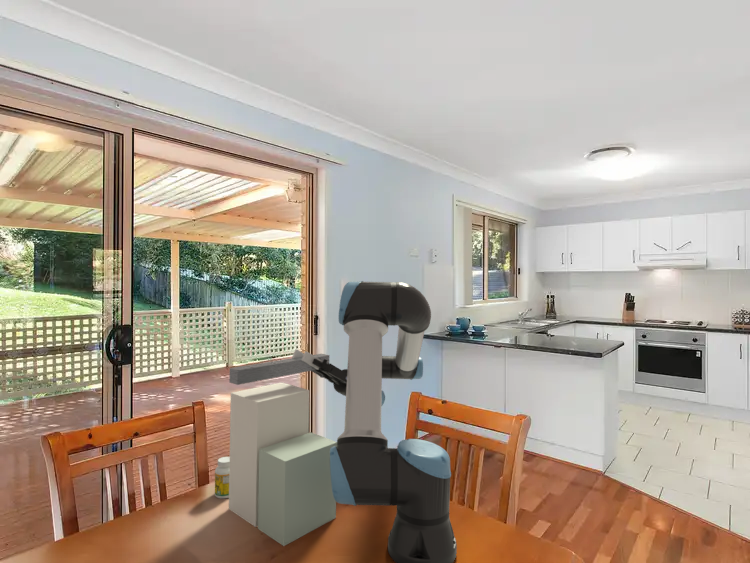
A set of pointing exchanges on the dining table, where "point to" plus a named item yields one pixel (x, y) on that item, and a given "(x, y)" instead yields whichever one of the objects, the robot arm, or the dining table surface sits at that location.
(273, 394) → the two-step stand
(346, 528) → the dining table surface
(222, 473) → the supplement bottle
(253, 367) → the steel block
